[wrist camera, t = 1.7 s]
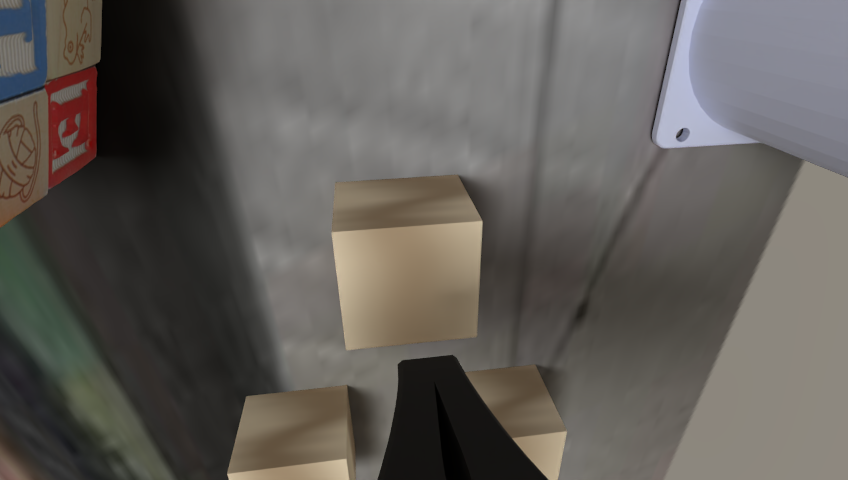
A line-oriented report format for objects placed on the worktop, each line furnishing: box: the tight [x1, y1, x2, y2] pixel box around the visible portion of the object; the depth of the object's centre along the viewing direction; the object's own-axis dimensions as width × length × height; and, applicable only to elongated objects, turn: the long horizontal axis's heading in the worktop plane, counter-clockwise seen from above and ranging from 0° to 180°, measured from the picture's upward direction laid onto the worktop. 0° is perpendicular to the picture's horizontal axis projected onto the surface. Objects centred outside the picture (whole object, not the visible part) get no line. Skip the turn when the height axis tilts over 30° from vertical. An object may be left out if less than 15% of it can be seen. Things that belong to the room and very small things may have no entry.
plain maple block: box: [332, 175, 483, 350], centre depth 17 cm, size 4×4×4 cm
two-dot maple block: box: [227, 385, 356, 480], centre depth 21 cm, size 4×4×4 cm
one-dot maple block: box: [465, 365, 567, 480], centre depth 22 cm, size 4×4×4 cm
